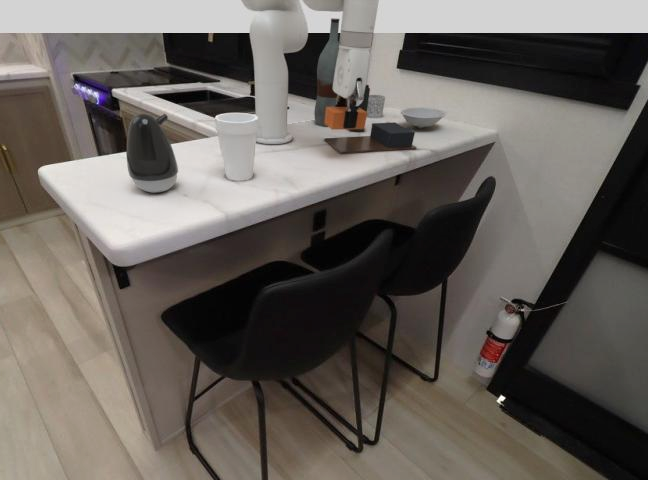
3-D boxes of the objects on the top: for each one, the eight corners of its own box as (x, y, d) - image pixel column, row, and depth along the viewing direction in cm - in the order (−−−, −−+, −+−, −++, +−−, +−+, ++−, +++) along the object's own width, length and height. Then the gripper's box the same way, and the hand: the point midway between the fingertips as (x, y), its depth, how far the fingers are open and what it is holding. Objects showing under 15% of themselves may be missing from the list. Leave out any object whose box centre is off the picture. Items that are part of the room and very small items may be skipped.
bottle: (308, 122, 135) (313, 17, 116) (327, 119, 139) (335, 18, 121) (325, 128, 129) (334, 19, 110) (345, 125, 133) (356, 19, 115)
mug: (375, 113, 150) (378, 94, 146) (385, 116, 145) (388, 97, 141) (354, 114, 147) (356, 95, 142) (363, 118, 142) (365, 98, 138)
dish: (425, 136, 124) (429, 119, 121) (388, 127, 132) (391, 112, 129) (450, 127, 134) (454, 112, 131) (414, 120, 142) (417, 105, 139)
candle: (364, 132, 126) (377, 41, 111) (349, 131, 126) (360, 41, 111) (362, 128, 130) (374, 40, 115) (347, 127, 130) (357, 40, 115)
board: (341, 153, 107) (341, 151, 106) (324, 140, 117) (324, 138, 117) (416, 149, 112) (416, 147, 112) (393, 136, 123) (394, 134, 122)
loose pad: (332, 129, 96) (334, 112, 93) (324, 123, 100) (325, 106, 98) (364, 129, 98) (367, 112, 95) (355, 122, 102) (357, 106, 100)
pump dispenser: (190, 188, 84) (180, 113, 75) (149, 201, 78) (132, 122, 68) (164, 176, 89) (152, 105, 80) (123, 188, 83) (105, 112, 74)
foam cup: (222, 184, 86) (217, 123, 78) (217, 170, 93) (212, 113, 85) (263, 181, 88) (262, 121, 80) (254, 168, 95) (253, 112, 87)
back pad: (387, 147, 111) (390, 133, 108) (370, 136, 120) (372, 123, 117) (411, 146, 112) (415, 132, 110) (392, 135, 121) (395, 122, 119)
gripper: (327, 36, 93) (320, 116, 104) (355, 45, 80) (343, 134, 91) (355, 37, 95) (345, 115, 106) (387, 46, 82) (371, 133, 93)
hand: (344, 123), depth 98 cm, fingers closed on loose pad, 6 cm apart
